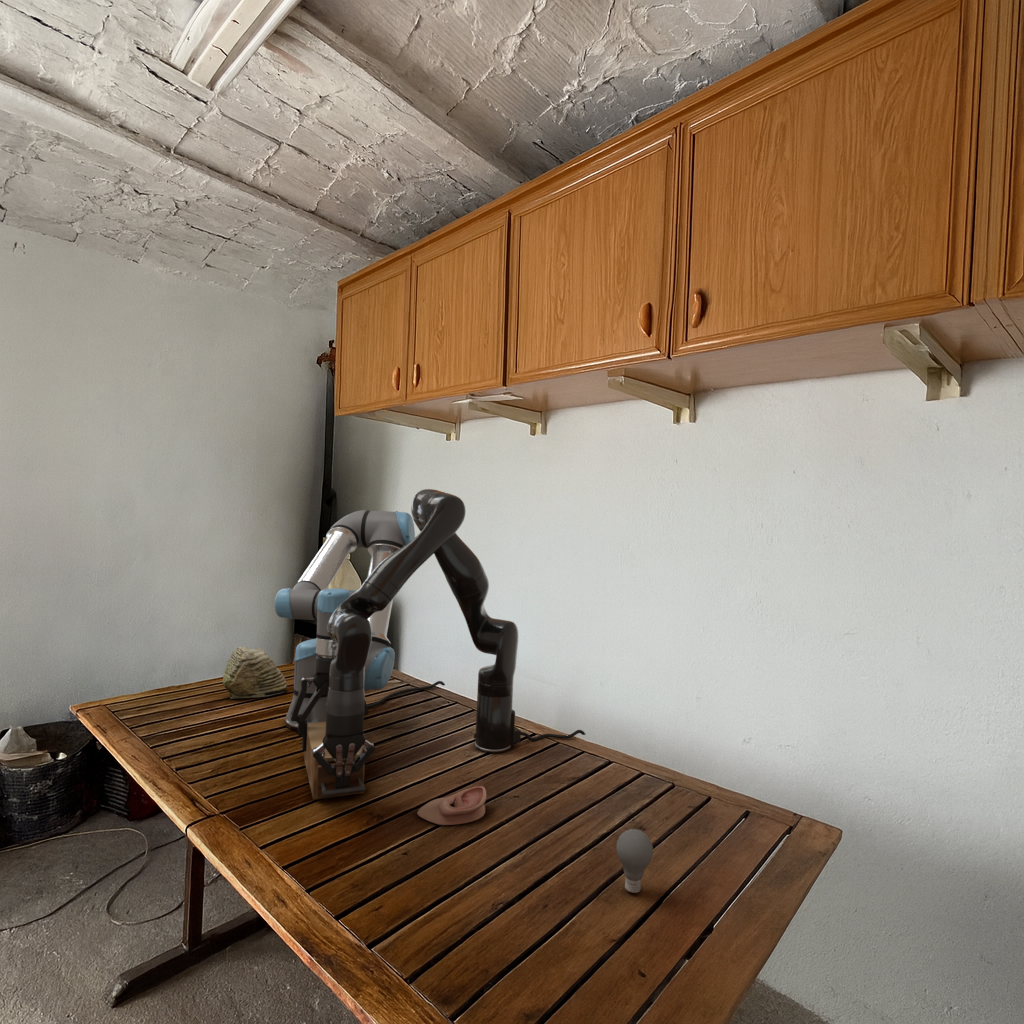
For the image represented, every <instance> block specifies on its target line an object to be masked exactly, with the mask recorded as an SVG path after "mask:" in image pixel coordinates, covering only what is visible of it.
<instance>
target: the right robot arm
mask: <svg viewBox="0 0 1024 1024" xmlns="http://www.w3.org/2000/svg"><path fill="white" fill-rule="evenodd" d="M410 508H411V509H410V511H411V517H412V519H413V523H415V524H414V525H416V526H417V529H418V530H419V531H420V532H419V533H418V534H417V535H415V538H414V539H413V540H412V541H410V542H409V543H408V544H406V545H405V546H404V547H402V548H400V549H399V550H397V551H396V552H394V553H393V554H391V555H389V556H388V557H387V558H385V559H384V560H383V561H382V562H380V563H379V564H378V565H377V567H376V568H375V569H374V570H373V571H372V573H371V574H370V575H369V576H368V575H367V576H368V578H367V577H366V579H365V580H364V581H363V583H362V584H361V585H360V587H359V588H358V589H357V590H356V592H355V593H353V594H352V595H351V596H350V597H349V598H347V599H346V600H345V601H344V602H343V603H342V604H341V605H340V606H339V607H338V608H337V609H336V610H335V611H334V612H333V614H332V615H331V617H330V619H329V621H328V624H327V631H328V634H329V636H330V637H331V638H332V639H333V640H334V641H336V642H338V652H337V657H336V658H335V659H333V660H332V662H331V665H330V673H329V690H328V696H327V703H326V708H327V712H326V734H325V737H324V738H323V743H322V744H321V745H320V746H319V747H317V748H313V749H312V754H313V757H314V758H315V759H316V760H317V762H318V763H319V764H320V765H321V766H322V767H323V769H324V770H325V771H326V772H327V773H328V774H329V775H335V789H340V788H347V787H350V775H351V773H353V772H358V771H359V770H360V769H361V767H362V766H363V765H364V764H366V763H367V761H368V760H369V758H370V757H371V756H372V755H373V753H374V752H375V750H376V747H375V745H374V742H372V741H369V740H367V739H366V735H365V733H364V729H365V728H364V727H365V725H364V724H365V715H364V707H365V702H366V692H365V690H364V679H365V663H366V660H367V657H368V653H369V649H370V645H371V639H372V629H371V624H370V622H369V620H368V619H369V617H370V616H371V615H372V614H374V613H375V612H379V611H383V610H384V609H385V608H386V607H387V606H388V605H389V604H390V602H391V601H392V600H393V601H394V599H395V598H396V596H397V595H398V593H400V591H401V589H403V587H404V586H405V584H406V583H407V582H408V580H410V578H411V577H412V576H413V575H414V574H415V572H417V570H419V569H420V567H421V566H423V565H424V564H425V562H427V561H428V560H429V559H430V558H431V557H432V556H433V555H434V557H435V559H436V562H437V563H438V565H439V567H440V569H441V571H442V573H443V575H444V577H445V580H446V582H447V584H448V586H449V588H450V590H451V593H452V594H453V596H454V598H455V599H456V601H457V604H458V606H459V609H460V610H461V613H462V615H463V616H464V620H465V622H466V625H467V628H468V632H469V634H470V638H471V641H472V643H473V645H474V647H475V649H476V650H478V651H479V652H481V653H484V654H488V655H492V656H495V662H494V664H489V665H485V666H483V667H480V669H478V674H477V694H476V695H477V698H476V719H475V734H474V735H473V740H475V741H474V747H475V749H477V750H479V751H480V752H484V753H489V754H490V753H491V754H498V753H499V754H500V753H504V752H507V751H509V750H510V749H512V748H514V747H515V746H514V745H515V744H517V743H521V740H522V739H521V738H522V737H521V736H523V737H525V738H526V739H527V740H529V741H530V742H536V741H539V740H541V739H544V738H555V739H562V740H567V739H572V738H574V737H575V736H576V735H578V734H581V735H582V736H586V732H585V731H584V730H582V729H577V730H575V731H573V732H572V733H570V734H555V733H543V734H539V735H537V736H535V737H532V736H530V735H529V733H527V732H523V731H522V730H521V729H519V727H516V726H515V725H516V724H515V723H516V711H515V710H514V709H513V701H514V700H513V697H514V678H515V677H514V676H515V673H516V668H517V658H518V648H519V629H518V626H517V624H516V623H515V621H511V620H506V619H500V618H494V617H491V616H490V615H489V614H488V612H487V610H486V608H485V602H486V599H487V596H488V593H489V590H490V582H489V579H488V576H487V573H486V571H485V568H484V566H483V565H482V563H481V561H480V559H479V557H478V556H477V555H476V554H475V553H474V551H472V550H471V549H470V547H469V546H468V545H467V544H466V543H465V542H464V541H463V540H462V539H461V538H460V536H459V535H458V534H457V531H458V530H459V529H460V528H461V526H462V524H463V523H464V521H465V519H466V505H465V503H464V501H463V500H462V499H461V498H460V497H459V496H457V495H454V494H452V493H449V492H445V491H441V490H438V489H432V488H425V489H424V488H423V489H421V490H419V491H417V493H416V494H415V495H414V496H413V499H412V501H411V507H410ZM566 735H568V736H566ZM361 747H362V752H361V753H360V754H359V755H358V757H357V758H356V759H355V761H354V762H353V757H354V756H355V755H356V754H357V752H358V751H359V750H360V748H361ZM325 749H326V750H327V751H328V752H329V754H330V755H331V756H332V757H333V758H334V761H335V766H332V765H331V764H330V763H329V761H328V760H327V759H326V758H325V757H324V756H325V751H324V750H325ZM343 758H344V767H343V772H342V765H343V762H342V759H343Z"/></svg>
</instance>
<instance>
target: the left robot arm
mask: <svg viewBox="0 0 1024 1024" xmlns="http://www.w3.org/2000/svg"><path fill="white" fill-rule="evenodd" d="M414 523H415V522H414V520H413V517H412V514H410V513H409V512H404V511H398V510H395V511H387V510H370V509H362V510H361V509H360V510H356V511H353V512H351V513H349V514H346V515H345V516H343V517H342V518H340V519H339V520H338V521H336V522H335V523H334V524H333V525H332V526H331V527H330V529H329V530H328V531H327V532H326V535H325V541H324V542H323V544H322V546H321V547H320V548H319V550H318V552H317V553H316V554H315V556H314V557H313V559H312V560H311V562H310V563H309V565H308V566H307V568H306V569H305V570H304V572H303V574H302V575H301V576H300V578H299V579H298V580H297V582H296V583H295V585H294V586H293V587H292V588H291V587H287V588H282V589H279V590H278V592H277V593H276V594H275V599H274V610H275V611H274V612H275V613H276V615H277V617H279V618H284V619H291V620H307V621H316V638H312V639H307V640H304V641H302V642H300V643H298V644H297V645H296V647H295V654H294V659H293V661H294V670H293V671H294V672H293V695H292V696H293V697H292V699H291V702H290V704H289V708H288V711H287V713H286V715H285V726H286V728H287V729H289V730H291V731H294V732H295V731H296V732H297V735H298V737H302V738H301V739H302V740H301V749H302V752H304V751H306V747H307V723H318V722H326V712H327V708H326V703H327V696H328V690H329V673H330V665H331V662H332V660H333V659H335V658H336V657H337V652H338V642H336V641H334V640H333V639H332V638H331V637H330V636H329V634H328V631H327V624H328V621H329V619H330V617H331V615H332V614H333V612H334V611H335V610H336V609H337V608H338V607H339V606H340V605H341V604H342V603H343V602H344V601H345V600H346V599H347V598H349V597H350V596H351V595H352V594H353V593H355V592H356V591H357V590H355V589H353V590H349V589H346V588H337V587H336V588H329V586H330V585H331V583H332V582H333V580H334V578H335V577H336V576H337V574H338V572H339V570H340V568H341V567H342V565H343V564H344V562H345V561H346V560H347V557H348V556H349V555H351V554H352V553H354V552H355V551H356V549H360V548H363V549H367V552H368V554H369V555H370V556H371V557H370V561H369V562H370V563H369V565H368V566H369V567H368V571H367V576H366V579H367V578H368V576H369V575H370V574H371V573H372V571H373V570H374V569H375V568H376V567H377V565H378V564H379V563H380V562H382V561H383V560H384V559H385V558H387V557H388V556H389V555H391V554H393V553H394V552H396V551H397V550H399V549H400V548H402V547H404V546H405V545H406V544H408V543H409V542H410V541H412V540H413V539H414V538H415V537H416V531H415V524H414ZM393 602H394V599H393V600H392V601H391V602H390V604H389V605H388V606H387V607H386V608H385V609H384V610H383V611H379V612H375V613H374V614H372V615H371V616H370V617H369V619H368V620H369V622H370V624H371V629H372V639H371V645H370V649H369V653H368V657H367V660H366V663H365V679H364V691H379V690H382V689H384V688H385V687H386V686H387V684H388V683H389V681H390V680H391V677H392V674H393V671H394V666H395V658H396V653H395V650H394V648H392V647H391V644H392V643H391V641H390V640H389V639H388V637H387V636H388V629H389V624H390V618H391V613H392V608H393ZM430 685H431V686H430ZM430 685H426V686H420V687H412V688H405V689H402V690H398V691H395V692H392V693H390V694H387V695H386V696H384V697H383V698H381V699H380V700H378V701H376V702H375V701H374V702H372V703H369V704H367V702H366V701H365V707H364V716H366V715H368V714H369V709H371V708H373V707H377V706H380V705H381V704H382V703H384V702H385V701H387V700H388V699H390V698H391V699H392V698H393V697H395V696H398V695H401V694H406V693H410V692H417V691H418V692H419V691H426V690H429V689H433V688H435V687H436V686H438V685H441V686H446V684H445V682H444V681H442V680H437V681H436V682H434V683H432V684H430Z"/></svg>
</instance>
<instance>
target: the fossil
mask: <svg viewBox="0 0 1024 1024" xmlns="http://www.w3.org/2000/svg"><path fill="white" fill-rule="evenodd" d="M222 676H223V677H222V685H223V687H224V688H225V690H226V691H228V693H229V698H230V699H250V698H264V697H271V696H275V695H281V694H284V693H285V691H286V689H287V687H288V686H287V680H286V678H285V676H284V674H283V673H282V672H281V669H279V668H278V667H277V665H276V663H275V662H274V660H273V659H272V658H271V657H270V656H269V655H268V654H267V653H266V652H265V650H264V649H263V648H260V647H258V648H251V647H247V646H246V647H245V646H238V647H237V648H236V649H235V650H233V651H232V653H231V656H230V657H229V659H228V660H227V663H226V666H225V668H224V671H223V675H222Z"/></svg>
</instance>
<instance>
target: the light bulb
mask: <svg viewBox="0 0 1024 1024" xmlns="http://www.w3.org/2000/svg"><path fill="white" fill-rule="evenodd" d="M615 849H616V854H617V857H618V859H619V861H620V863H621V865H622V867H623V873H624V874H623V875H624V876H625V878H624V888H625V890H627V891H628V892H630V893H634V894H635V893H639V892H640V891H641V889H642V887H641V886H642V879H643V877H644V875H645V871H646V868H647V867H648V866H649V864H650V863H651V861H652V859H653V855H654V847H653V843H652V841H651V838H649V836H648V835H647V834H646V833H645V832H643V831H642V830H641V829H636V828H629V829H627V830H625V831H623V832H622V833H621V834H620V835H619V837H618V839H617V841H616V847H615Z"/></svg>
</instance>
